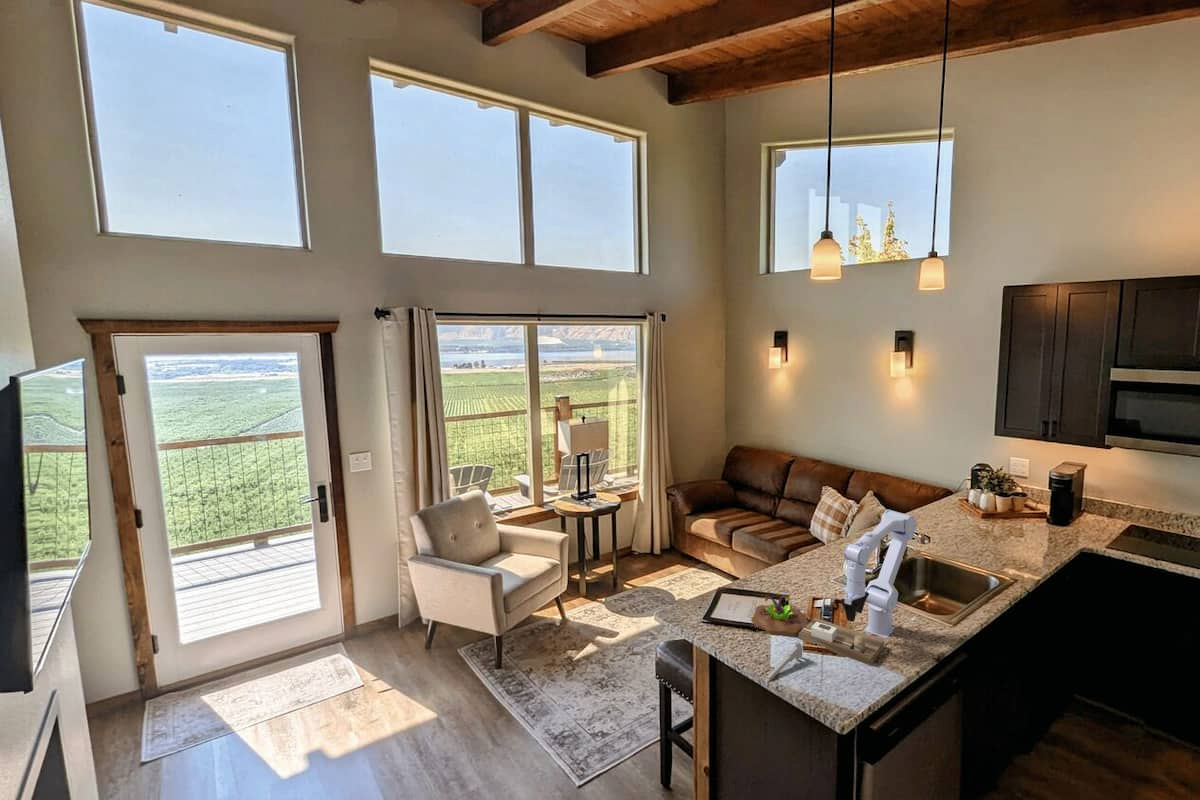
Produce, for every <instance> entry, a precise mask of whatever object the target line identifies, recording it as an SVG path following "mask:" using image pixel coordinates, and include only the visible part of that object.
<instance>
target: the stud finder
mask: <svg viewBox="0 0 1200 800" xmlns="http://www.w3.org/2000/svg"><path fill="white" fill-rule="evenodd" d="M811 636H814V637H817V638H820V639H823V640H826V641H829V642H832V641H833V640H834V639H835V638H836V636H837V628H835V627H832V626H829V625H826V624H823V623H819V622H816V623H815V624H814V625H813V626H812V627H811Z"/></svg>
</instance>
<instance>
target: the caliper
mask: <svg viewBox="0 0 1200 800" xmlns="http://www.w3.org/2000/svg"><path fill="white" fill-rule="evenodd" d="M794 644H795V646H794V647H793V648H792V649H791V650H789V652H788V653H787V655H786V656H785V657H784V658H783V659H782V660H781V661H780V662H779V663H778V665H776V666H775V667H774V669H773V670H771V672H770V673H768V674H767V675H766V678H765V679H764V683H769V681H772V680H773V679H775V677H776V676H777V675H778V674H779V673H780V672H781V671H782V670H783V668H785V667H786V666H787V664H789V663H791V662H793V661H794V660H796V661H800V659H802V657H803V645H802V643H801V642H800V641H798V640H797V641H796V642H795V643H794Z"/></svg>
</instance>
